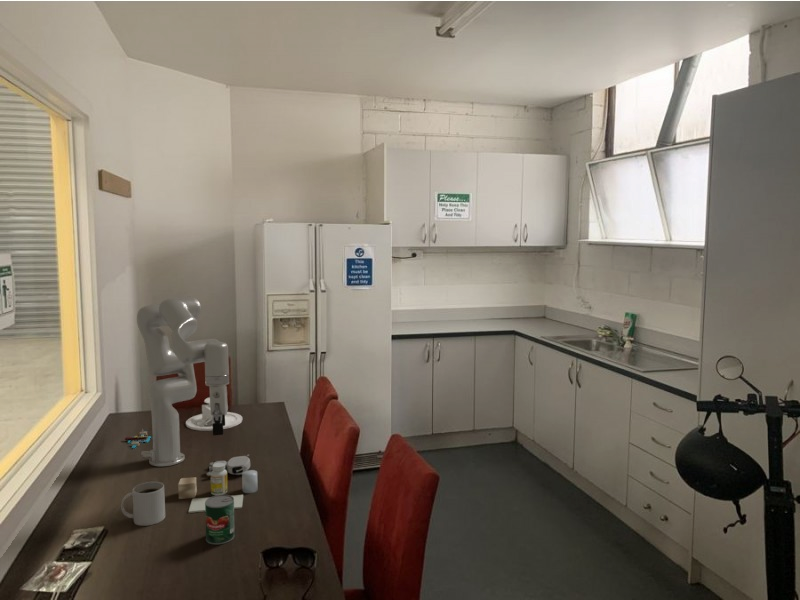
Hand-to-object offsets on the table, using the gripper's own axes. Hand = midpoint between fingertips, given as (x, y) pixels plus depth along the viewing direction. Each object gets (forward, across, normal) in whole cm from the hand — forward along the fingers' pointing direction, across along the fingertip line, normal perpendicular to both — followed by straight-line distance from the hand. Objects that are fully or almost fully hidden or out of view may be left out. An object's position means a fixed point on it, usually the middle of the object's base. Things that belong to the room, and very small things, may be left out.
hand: (219, 430), depth 196 cm
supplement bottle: (+22, 0, +1) cm, 22 cm away
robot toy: (+22, +17, -2) cm, 27 cm away
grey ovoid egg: (+22, 0, -9) cm, 23 cm away
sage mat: (+21, -9, +1) cm, 23 cm away
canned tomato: (+22, -31, -2) cm, 38 cm away
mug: (+22, -15, +21) cm, 33 cm away
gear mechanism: (+21, +60, +38) cm, 74 cm away
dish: (+20, +79, +8) cm, 82 cm away
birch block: (+21, 0, +11) cm, 24 cm away
